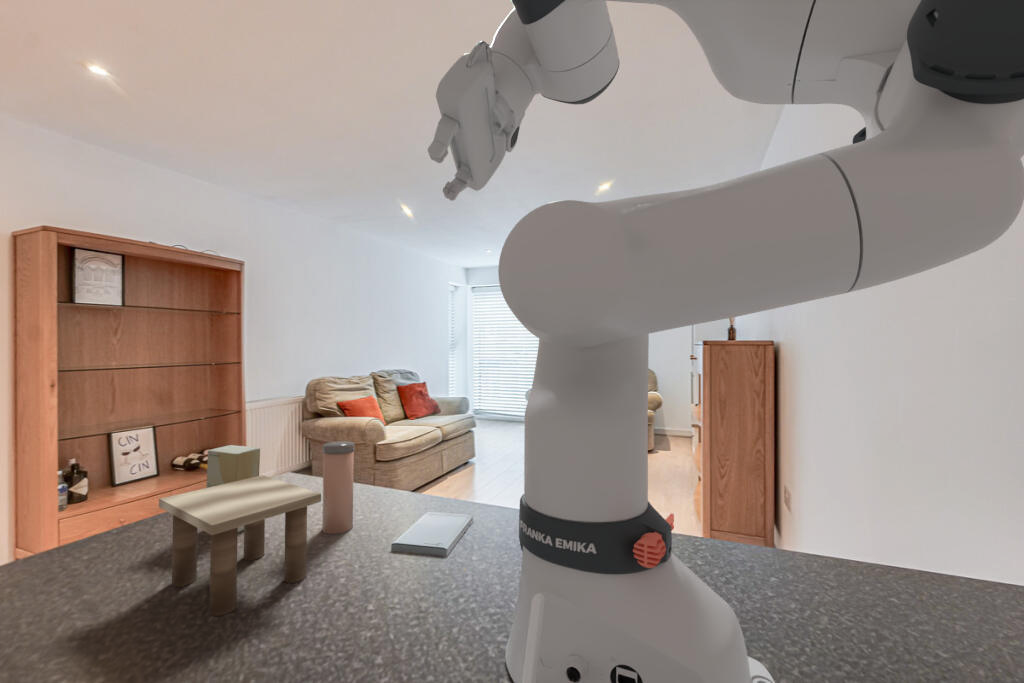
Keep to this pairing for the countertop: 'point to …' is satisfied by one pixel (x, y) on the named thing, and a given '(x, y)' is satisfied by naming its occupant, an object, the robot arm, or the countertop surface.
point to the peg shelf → (221, 519)
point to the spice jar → (338, 487)
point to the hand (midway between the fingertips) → (441, 178)
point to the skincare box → (232, 465)
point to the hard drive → (433, 533)
